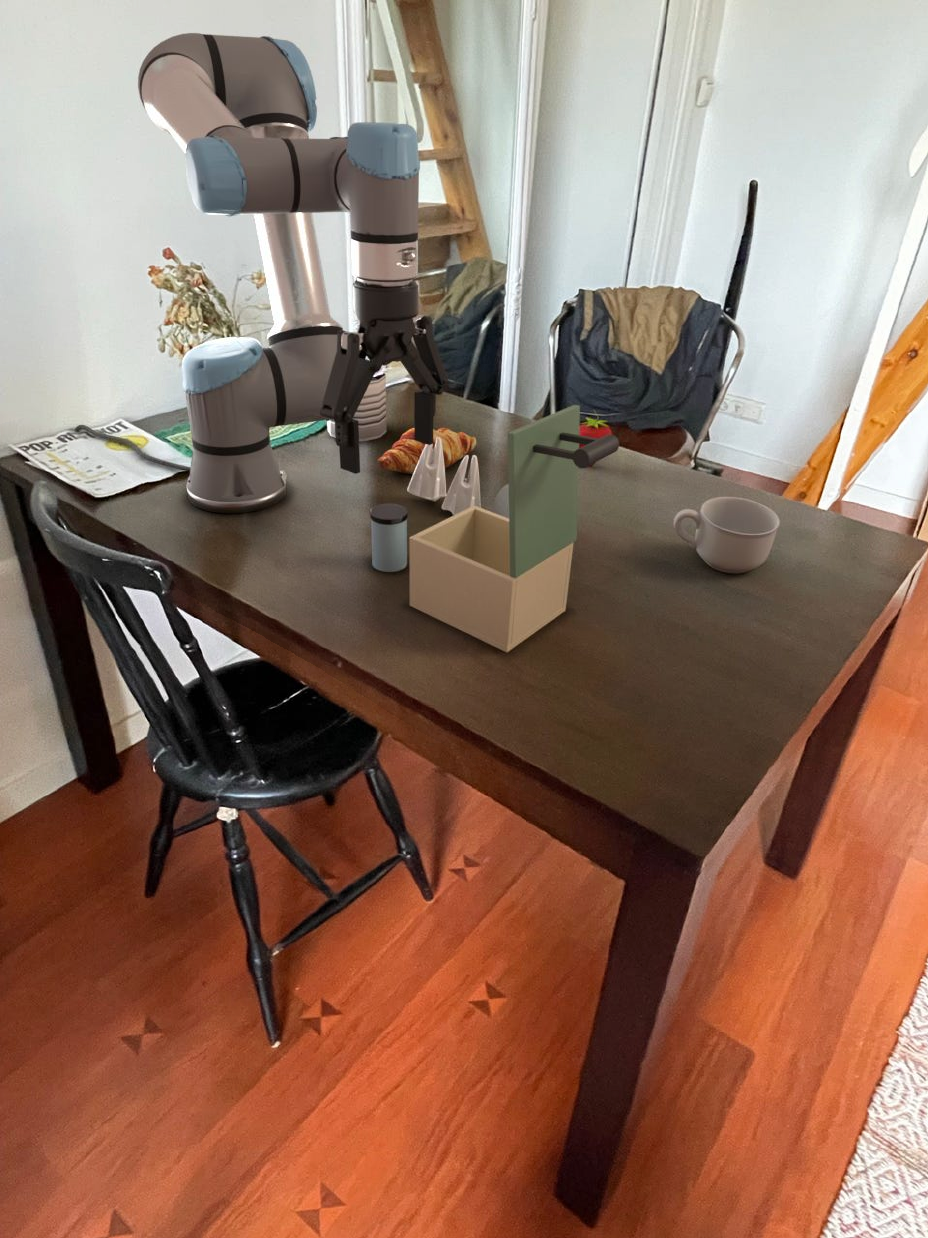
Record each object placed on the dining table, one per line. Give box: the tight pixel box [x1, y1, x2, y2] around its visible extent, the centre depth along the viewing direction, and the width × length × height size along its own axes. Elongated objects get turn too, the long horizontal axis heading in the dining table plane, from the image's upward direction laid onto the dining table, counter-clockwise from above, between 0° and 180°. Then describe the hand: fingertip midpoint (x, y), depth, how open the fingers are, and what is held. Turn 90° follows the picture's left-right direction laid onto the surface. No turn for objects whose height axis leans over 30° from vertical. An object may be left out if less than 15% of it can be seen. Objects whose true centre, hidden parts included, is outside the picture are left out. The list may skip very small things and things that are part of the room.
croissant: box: [377, 427, 477, 475], centre depth 144 cm, size 21×10×8 cm, turn 131°
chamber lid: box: [507, 404, 620, 578], centre depth 90 cm, size 16×13×8 cm
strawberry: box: [579, 410, 613, 467], centre depth 145 cm, size 6×8×10 cm
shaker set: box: [407, 437, 482, 516], centre depth 128 cm, size 12×4×11 cm, turn 57°
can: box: [326, 365, 387, 442], centre depth 155 cm, size 11×11×12 cm
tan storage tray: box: [409, 506, 575, 653], centre depth 103 cm, size 16×13×10 cm
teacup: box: [672, 496, 781, 574], centre depth 117 cm, size 14×11×8 cm
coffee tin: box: [369, 502, 409, 573], centre depth 113 cm, size 5×5×8 cm
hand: (388, 455), depth 106 cm, fingers open, 13 cm apart
